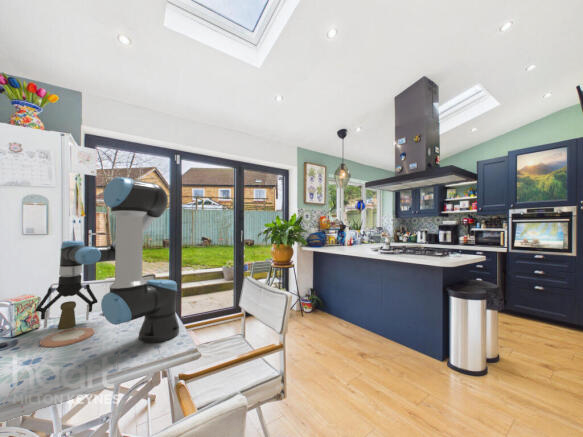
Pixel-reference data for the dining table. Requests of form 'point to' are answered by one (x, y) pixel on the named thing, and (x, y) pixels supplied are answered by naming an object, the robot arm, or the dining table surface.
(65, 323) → the cork
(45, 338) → the dish
